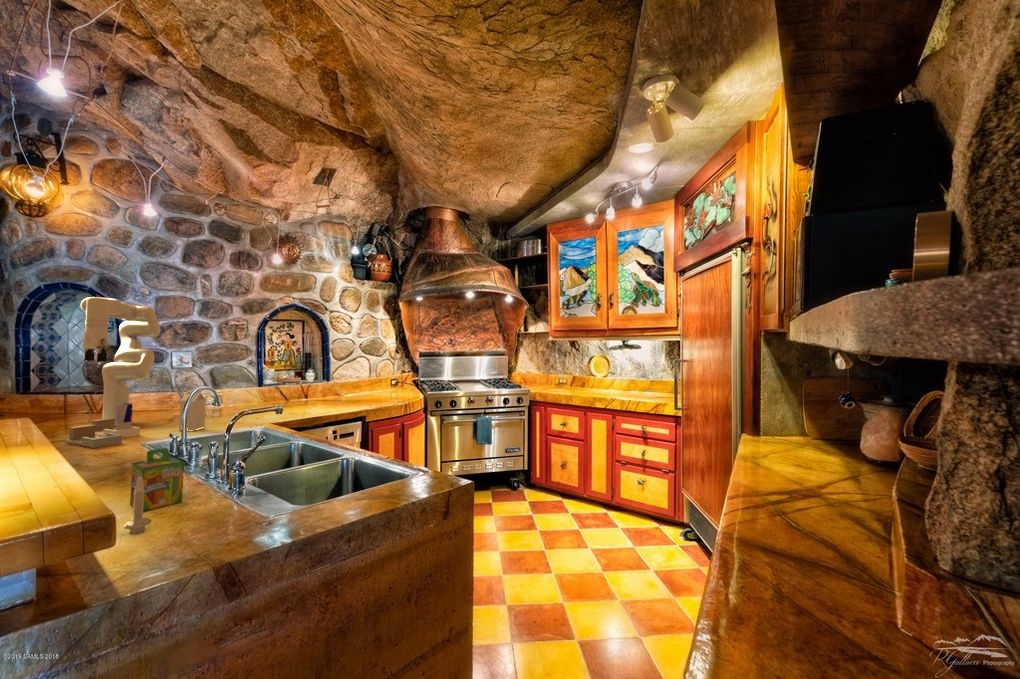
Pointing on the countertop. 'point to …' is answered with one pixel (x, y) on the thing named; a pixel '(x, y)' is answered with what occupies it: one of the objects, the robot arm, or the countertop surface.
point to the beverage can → (124, 416)
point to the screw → (138, 510)
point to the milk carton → (194, 412)
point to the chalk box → (158, 480)
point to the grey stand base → (91, 437)
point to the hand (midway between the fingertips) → (95, 361)
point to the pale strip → (120, 432)
